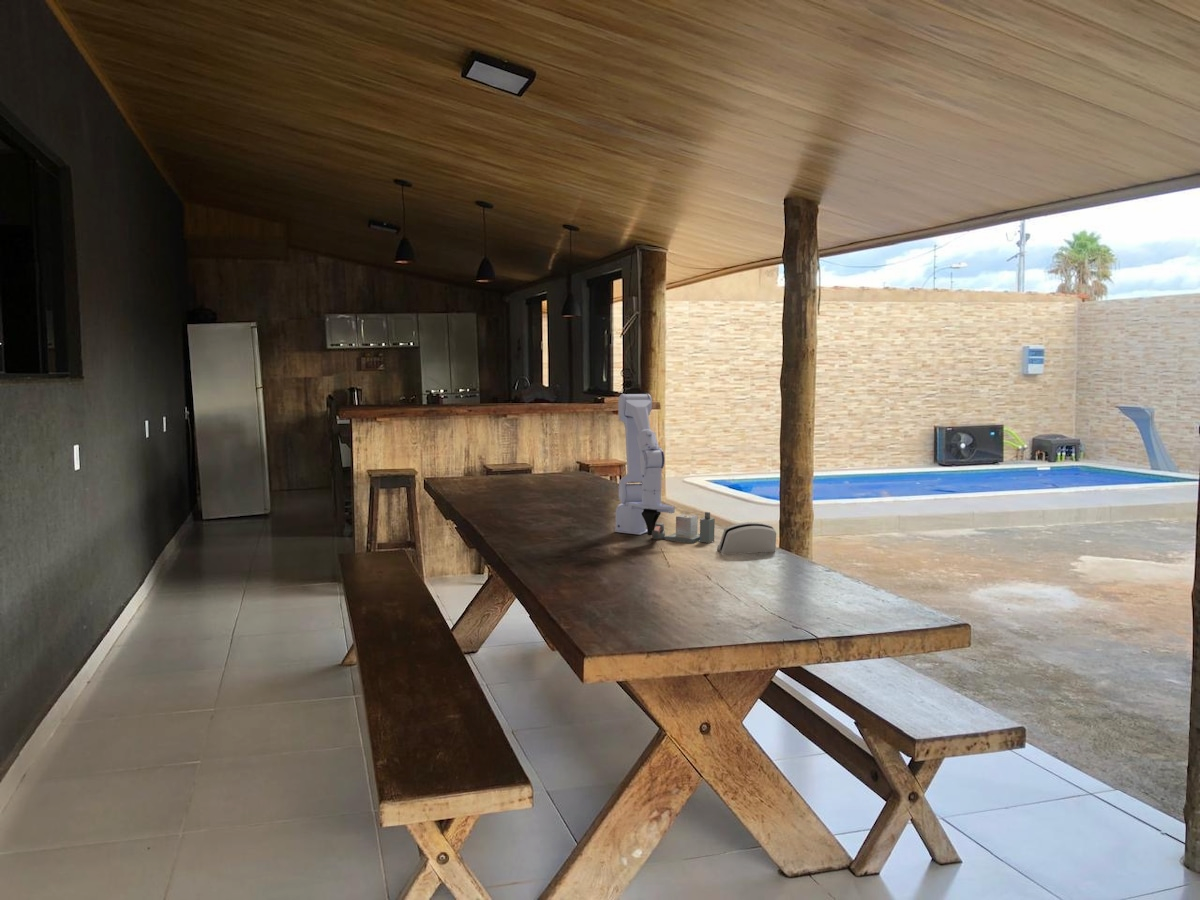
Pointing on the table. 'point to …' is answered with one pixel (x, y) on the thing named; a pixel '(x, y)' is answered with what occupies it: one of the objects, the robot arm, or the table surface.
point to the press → (704, 536)
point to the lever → (657, 530)
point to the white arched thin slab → (748, 538)
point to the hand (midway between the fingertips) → (650, 534)
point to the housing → (686, 525)
